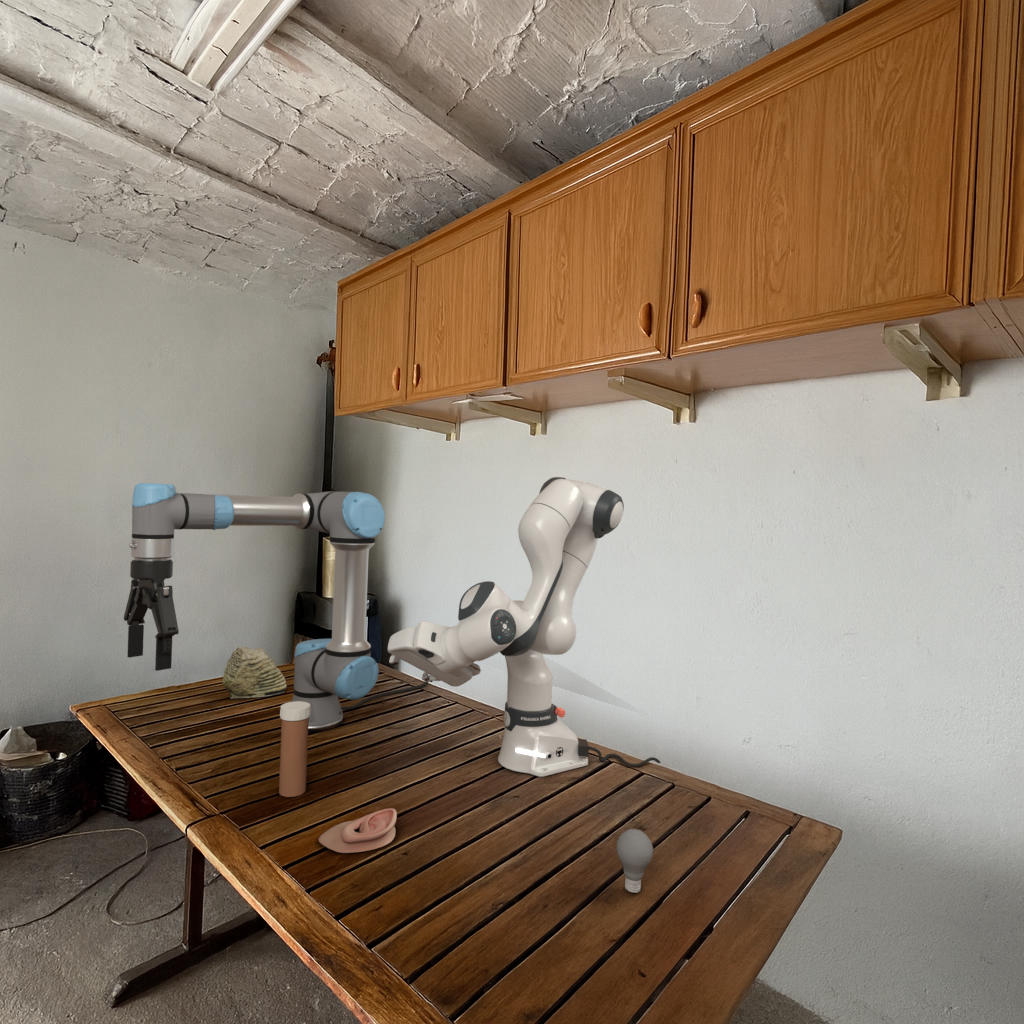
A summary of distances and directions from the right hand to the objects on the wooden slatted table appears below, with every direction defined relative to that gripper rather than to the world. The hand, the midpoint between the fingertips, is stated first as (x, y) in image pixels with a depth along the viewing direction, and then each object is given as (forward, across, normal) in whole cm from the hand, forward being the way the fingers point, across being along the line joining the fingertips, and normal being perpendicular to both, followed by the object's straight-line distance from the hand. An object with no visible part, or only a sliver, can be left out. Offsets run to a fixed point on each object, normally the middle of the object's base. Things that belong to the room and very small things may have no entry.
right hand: (408, 669), depth 141 cm
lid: (+17, +15, +10) cm, 25 cm away
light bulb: (-38, -26, +42) cm, 62 cm away
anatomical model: (+3, +2, +35) cm, 35 cm away
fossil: (+82, -2, -18) cm, 84 cm away
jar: (+25, +6, +23) cm, 35 cm away
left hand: (+29, +43, +8) cm, 53 cm away
